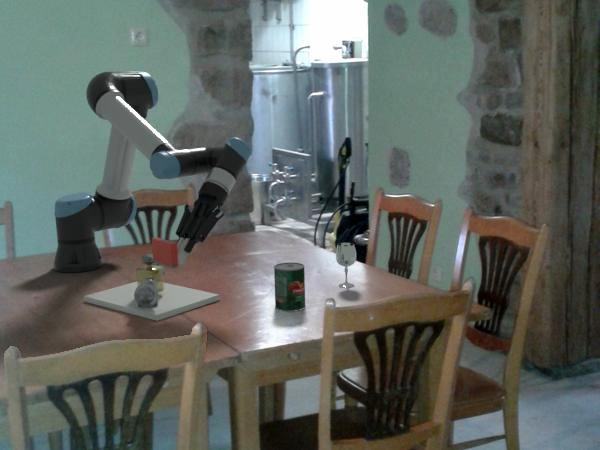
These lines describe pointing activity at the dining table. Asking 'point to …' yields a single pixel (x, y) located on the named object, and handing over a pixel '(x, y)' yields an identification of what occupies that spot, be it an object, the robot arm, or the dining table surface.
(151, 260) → the valve lever
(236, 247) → the dining table surface
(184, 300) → the plate
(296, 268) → the canned tomato
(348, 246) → the wineglass
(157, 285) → the valve body
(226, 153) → the robot arm
